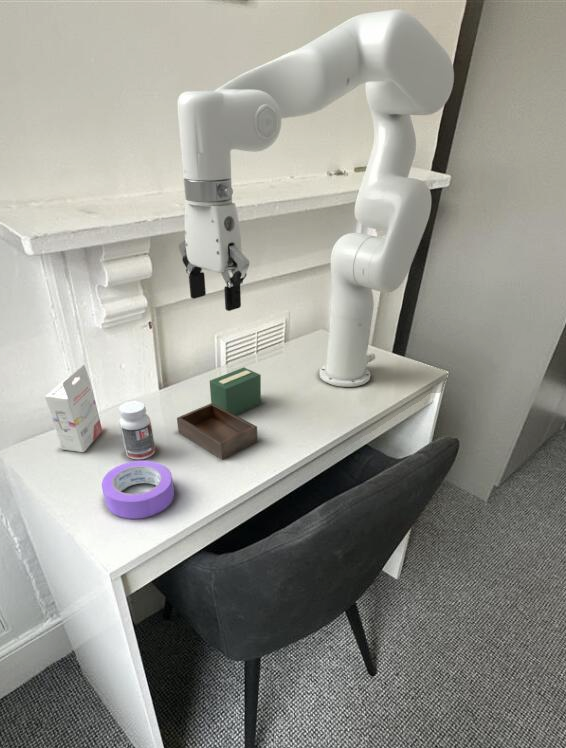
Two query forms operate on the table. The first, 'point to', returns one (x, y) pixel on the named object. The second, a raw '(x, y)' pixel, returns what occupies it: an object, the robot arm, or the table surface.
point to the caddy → (217, 430)
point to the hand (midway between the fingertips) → (215, 302)
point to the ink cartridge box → (74, 412)
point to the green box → (236, 390)
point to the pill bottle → (136, 430)
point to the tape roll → (142, 502)
